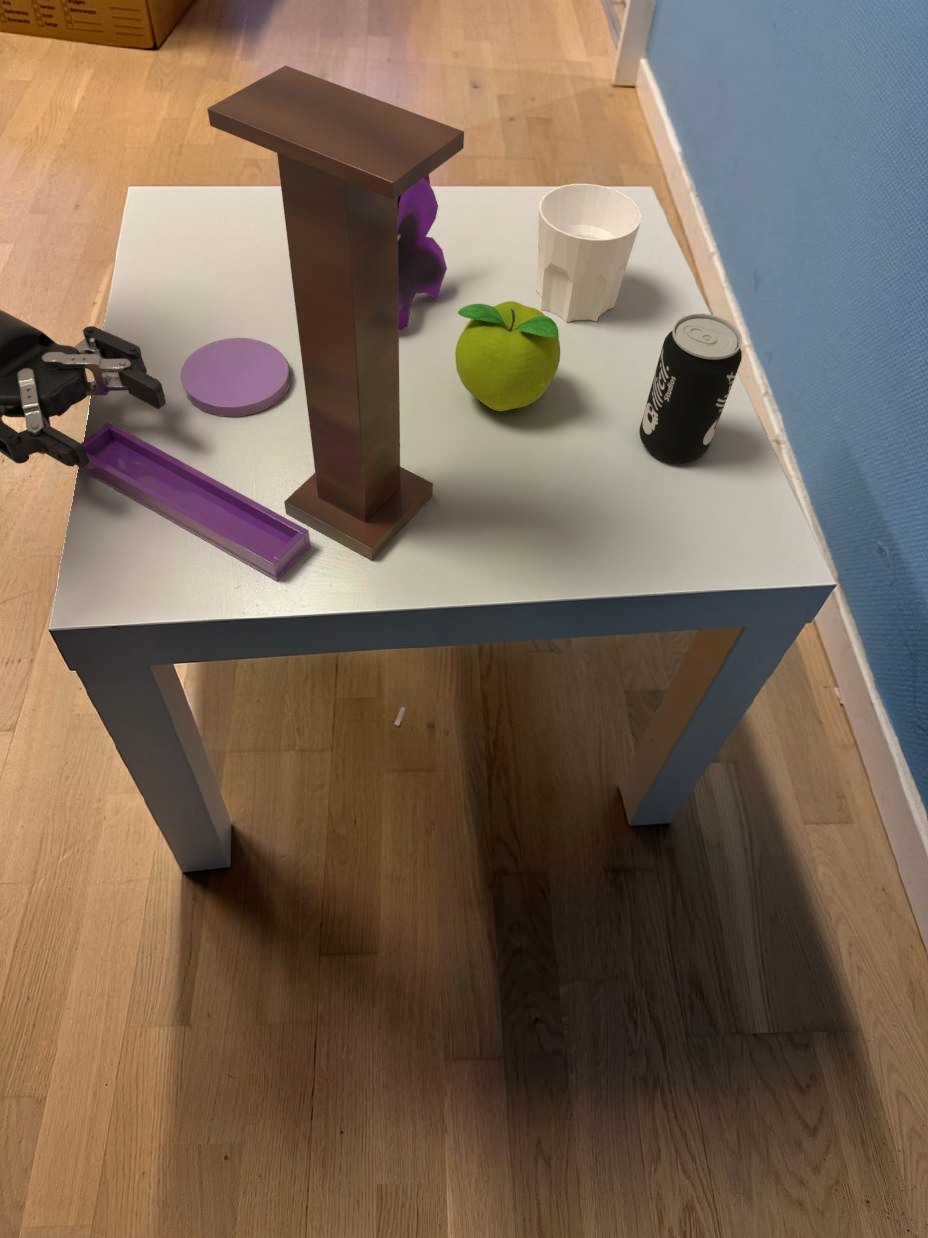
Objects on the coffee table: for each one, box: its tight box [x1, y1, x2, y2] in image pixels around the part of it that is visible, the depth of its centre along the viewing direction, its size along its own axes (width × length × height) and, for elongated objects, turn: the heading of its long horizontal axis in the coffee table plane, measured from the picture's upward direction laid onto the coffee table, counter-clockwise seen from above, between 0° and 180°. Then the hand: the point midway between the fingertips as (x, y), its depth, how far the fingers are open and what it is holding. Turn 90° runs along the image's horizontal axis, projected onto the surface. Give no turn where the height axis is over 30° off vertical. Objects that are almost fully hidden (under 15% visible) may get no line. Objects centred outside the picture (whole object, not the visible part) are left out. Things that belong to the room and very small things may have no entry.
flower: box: [397, 174, 448, 331], centre depth 91 cm, size 15×15×14 cm
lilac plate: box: [180, 337, 291, 418], centre depth 85 cm, size 10×10×1 cm
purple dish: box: [77, 421, 312, 582], centre depth 75 cm, size 4×22×2 cm, turn 58°
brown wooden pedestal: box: [206, 65, 465, 561], centre depth 64 cm, size 9×13×32 cm
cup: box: [535, 183, 642, 323], centre depth 91 cm, size 10×10×10 cm
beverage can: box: [638, 313, 743, 464], centre depth 78 cm, size 7×7×12 cm
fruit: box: [454, 300, 561, 412], centre depth 82 cm, size 9×9×10 cm
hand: (123, 426), depth 72 cm, fingers open, 8 cm apart
